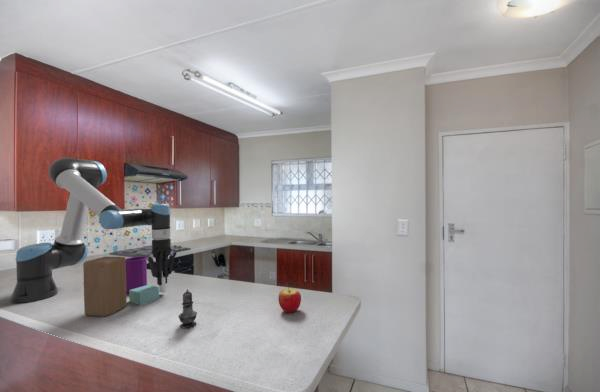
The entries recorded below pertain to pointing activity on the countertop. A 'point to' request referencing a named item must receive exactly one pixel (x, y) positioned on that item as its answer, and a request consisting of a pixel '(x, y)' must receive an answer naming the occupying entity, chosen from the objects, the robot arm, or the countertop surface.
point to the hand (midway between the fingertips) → (162, 291)
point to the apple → (289, 299)
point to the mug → (136, 273)
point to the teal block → (144, 294)
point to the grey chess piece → (187, 312)
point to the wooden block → (104, 285)
